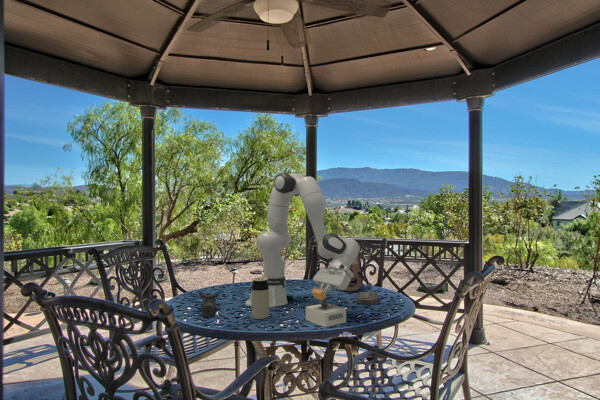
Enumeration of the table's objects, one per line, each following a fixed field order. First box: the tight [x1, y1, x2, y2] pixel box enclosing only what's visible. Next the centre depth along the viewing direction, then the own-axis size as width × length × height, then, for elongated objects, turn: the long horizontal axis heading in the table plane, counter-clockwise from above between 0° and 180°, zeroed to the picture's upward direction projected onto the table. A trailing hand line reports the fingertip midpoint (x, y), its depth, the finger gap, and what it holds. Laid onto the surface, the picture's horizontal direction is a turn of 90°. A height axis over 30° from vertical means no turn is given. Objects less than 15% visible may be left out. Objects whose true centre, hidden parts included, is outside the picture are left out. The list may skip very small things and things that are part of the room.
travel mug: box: [251, 276, 270, 320], centre depth 186 cm, size 8×8×18 cm
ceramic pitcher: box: [329, 252, 364, 292], centre depth 246 cm, size 18×21×25 cm
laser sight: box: [198, 289, 220, 318], centre depth 197 cm, size 10×22×10 cm, turn 11°
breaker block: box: [305, 302, 347, 328], centre depth 178 cm, size 12×14×6 cm
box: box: [357, 291, 379, 306], centre depth 217 cm, size 11×17×3 cm, turn 170°
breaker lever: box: [310, 288, 329, 308], centre depth 177 cm, size 2×6×9 cm
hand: (321, 293), depth 177 cm, fingers closed, pressing on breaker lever
